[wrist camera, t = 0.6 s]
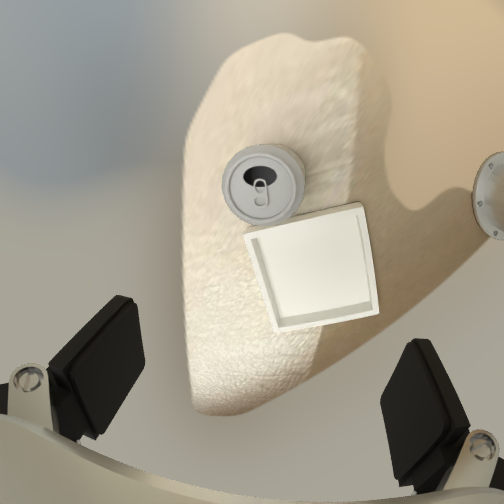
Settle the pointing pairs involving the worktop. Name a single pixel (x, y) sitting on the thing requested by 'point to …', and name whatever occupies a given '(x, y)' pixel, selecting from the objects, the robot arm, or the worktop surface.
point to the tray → (315, 268)
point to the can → (264, 184)
